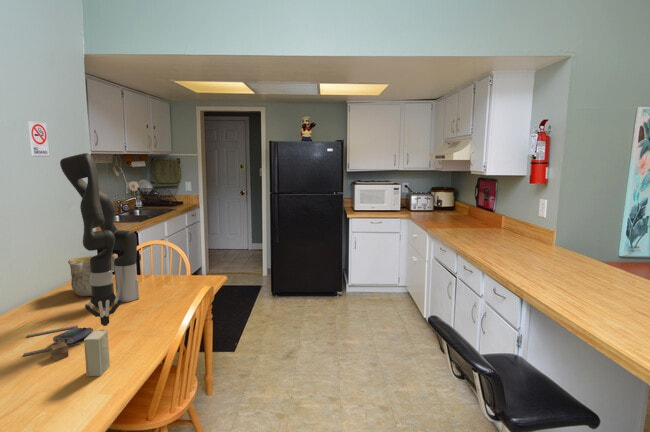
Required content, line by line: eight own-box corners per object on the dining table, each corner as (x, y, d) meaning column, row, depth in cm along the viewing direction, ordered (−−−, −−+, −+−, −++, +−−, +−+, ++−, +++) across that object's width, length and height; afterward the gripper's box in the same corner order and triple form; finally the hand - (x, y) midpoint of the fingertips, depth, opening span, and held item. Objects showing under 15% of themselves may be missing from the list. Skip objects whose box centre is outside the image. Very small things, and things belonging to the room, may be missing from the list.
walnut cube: (64, 352, 132) (63, 341, 131) (68, 356, 129) (67, 345, 129) (50, 357, 129) (49, 346, 128) (54, 361, 126) (53, 349, 126)
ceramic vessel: (42, 278, 188) (75, 235, 197) (88, 298, 204) (116, 257, 213) (57, 287, 173) (92, 240, 183) (105, 308, 189) (135, 263, 199)
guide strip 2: (79, 342, 139) (79, 341, 139) (79, 344, 138) (79, 342, 138) (23, 354, 130) (23, 353, 130) (23, 356, 129) (23, 355, 129)
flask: (93, 327, 144) (68, 339, 134) (94, 335, 144) (69, 347, 134) (73, 326, 146) (47, 338, 136) (74, 334, 147) (48, 346, 136)
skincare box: (96, 366, 123) (93, 330, 121) (110, 366, 123) (108, 330, 122) (85, 377, 117) (82, 339, 115) (101, 376, 117) (98, 338, 116)
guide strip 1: (77, 326, 153) (77, 325, 153) (77, 327, 152) (77, 326, 152) (27, 336, 144) (26, 335, 144) (26, 337, 143) (26, 336, 143)
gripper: (120, 277, 155) (122, 318, 157) (81, 282, 147) (84, 325, 150) (122, 281, 149) (125, 324, 151) (82, 287, 141) (85, 332, 143)
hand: (105, 325), depth 150 cm, fingers closed
